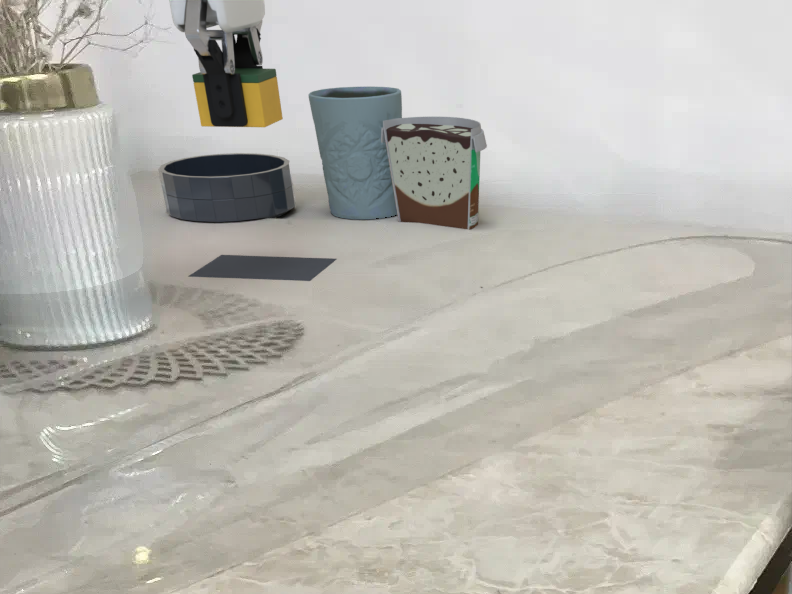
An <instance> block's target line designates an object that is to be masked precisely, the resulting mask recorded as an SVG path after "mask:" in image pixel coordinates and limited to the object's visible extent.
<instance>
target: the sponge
mask: <svg viewBox="0 0 792 594" xmlns="http://www.w3.org/2000/svg"><path fill="white" fill-rule="evenodd" d="M235 73H238V74H240V76H241V82H242V89H243V95H244V101H245V108H246V114H247V120H248V123H247V125H246V126H243V127H242V128H267V127H269V126H271V125H273V124H275V123H277V122H279V121H282V120H283V117H284V116H283V111H282V104H281V103H282V102H281V97H280V90H279V82H278V76H277V69H276V68H263V69H254V68H235ZM191 78H192V82H193V89H194V94H195V99H196V104H197V105H196V106H197V110H198V114H199V121H200V126H201V127H208V128H209V127H211V128H212V127H214V128H215V127H216V128H219V127H221V126H214V125H213V124H212V123H211V119H210V113H209V107H208V102H207V96H206V90H205V85H204V79H203V74H202V73H201V72H200V71H199V72H197V73H193V74H192V75H191ZM221 128H222V127H221Z"/></svg>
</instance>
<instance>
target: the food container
mask: <svg viewBox="0 0 792 594" xmlns="http://www.w3.org/2000/svg"><path fill="white" fill-rule="evenodd" d="M485 135H486V134H485V132H484V129H483V128H482V126H481V122H480V121H478V120H476V119H470V118H465V117H455V116H409V117H402V118H398V119H391V120H385V121H383V128H381V143H383V142H386V147H387V154H388V160H389V166H390V172H391V178H392V184H393V190H394V197H395V203H396V209H397V215H396V216H397V221H398V223H414V224H415V223H416V224H424V225H425V224H426V225H432V226H438V227H439V226H440V227H447V228H455V229H461V230H468V231H471V230H472V229H475V228H476V227H477V226H478V225H479V207H480V206H479V205H480V204H479V203H480V177H481V175H480V174H481V152H482V151H484V150H486V149H487V147H488V144H487V140H486V136H485Z"/></svg>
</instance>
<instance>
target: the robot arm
mask: <svg viewBox="0 0 792 594" xmlns="http://www.w3.org/2000/svg"><path fill="white" fill-rule="evenodd" d="M168 1H169V8H170V13H171V19H172V23H173V25H174V26H175V28H176V29H177V30H178V31H179V32H181V33H184V35H185V38H186V40H187V41H188V42H189V44H190V45H191V46H192V48H193V51H194V53H195V55H196V57H197V59H198V60H197V61H198V68H199V72H201V73H202V74H203V79H204V85H205V90H206V96H207V102H208V107H209V113H210V119H211V123H212V124H213V125H214V126H221V128H244V127H243V126H246V125H247V123H248V120H247V114H246V108H245V101H244V95H243V89H242V82H241V76H240V74H238V73H235V68H254V69H264V68H263V67H264V66H263V63H264V57H263V52H262V47H261V44H260V43H261V40H262V37H261V36H262V34H261V30H262V26H263V19H264V17H265V15H266V7H265V6H266V5H265V0H168ZM216 26H218V27H219V28H220V29H208V28H212V27H216ZM217 41H220V42H221V47H220V45H219V43H218V42H217Z"/></svg>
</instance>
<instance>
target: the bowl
mask: <svg viewBox="0 0 792 594" xmlns="http://www.w3.org/2000/svg"><path fill="white" fill-rule="evenodd" d="M158 174H159V175H158V176H159V179H160V184H161V190H162V195H163V199H164V200H163V201H164V205H165V209H166V213H167V214H168V215H169V216H171V217H173V218H177V219H178V220H179V219H180V220H183V221H184V220H185V221H191V222H203V223H205V222H207V223H208V222H209V223H210V222H211V223H222V222H223V223H224V222H226V223H227V222H241V221H249V220H250V221H251V220H258V219H277V218H280V217H282V216H283V215H286V213H287V212H289V211H290V210H292V209H293V208H296V197H295V189H294V183H293V175H292V167H291V161H290V160H289V159H288V158H286V157H283V156H280V155H279V156H278V155H275V154H265V153H256V152H255V153H253V152H251V153H250V152H247V153H244V152H240V153H239V152H235V153H231V152H230V153H215V154H204V155H203V154H202V155H195V156H188V157H183V158H179V159H175V160H171V161H168V162H165V163H164V164H161V165H160V166H159V168H158Z"/></svg>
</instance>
